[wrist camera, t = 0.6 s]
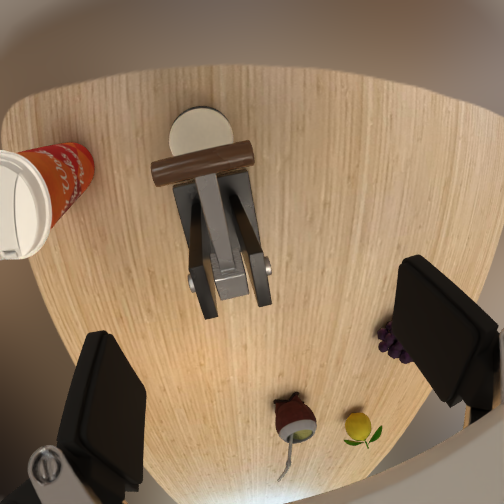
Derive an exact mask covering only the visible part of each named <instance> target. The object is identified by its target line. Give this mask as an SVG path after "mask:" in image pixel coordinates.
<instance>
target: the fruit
mask: <svg viewBox="0 0 504 504" xmlns="http://www.w3.org/2000/svg"><path fill="white" fill-rule="evenodd" d="M391 325H392V321H390V322H388V324H387V325H386V329H385V328H381V329H380V330H379V331H378V332H377V334H378V339H380V340H383V341H382V342H380V343H379V346H378V348H379V350H380V351H381V352H386V351H388V355H389V356H390V357H392V358H393V359H395V358H399V360H400V361H401V363H404V364H407V363H410V362H414V361H413V360H412V358H411V357H410V356H409V354H408V353H407V352H406V350H405V349H404V347H403V346H402V345H401V343H400V342H399V341H398V339H397V338H396V337H395V335H394V334H393V331H392V327H391ZM388 330H389V331H390V332H388ZM388 348H389V349H388Z"/></svg>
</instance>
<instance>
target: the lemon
mask: <svg viewBox="0 0 504 504" xmlns="http://www.w3.org/2000/svg"><path fill="white" fill-rule="evenodd" d="M345 428H346V432H347V433H348V435H349V436H350V437H351V438H352V439H354V440H356V441H365V443H366V445H367V442H366V438H367V437H368V436H369V435H370V433H371V422H370V420H369V418H368V416H367V415H365V414H364V413H351V414H350V416H349V417H348V418H347V420H346V422H345ZM381 432H382V426H380V427H379V428H378V429H377V431H376V432H375V433H374V435H373V436H372V438H371V439H370V441H369V443H370V442H373V441H375V440H377V439H378V438H379V437H380V435H381ZM344 441H345V442H346V443H347V444H349V445H352V446H356V445H359V444H361V443H364V442H356V441H351V440H344ZM369 443H368V444H369ZM367 448H368V449H369V447H368V445H367Z"/></svg>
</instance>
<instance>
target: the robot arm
mask: <svg viewBox="0 0 504 504" xmlns="http://www.w3.org/2000/svg"><path fill="white" fill-rule="evenodd" d="M391 327H392V331H393V334H394V335H395V337H396V338H397V339H398V341H399V342H400V343H401V345H402V346H403V347H404V349H405V350H406V352H407V353H408V354H409V356H410V357H411V358H412V360H413V361H414V363H415V364H416V365H417V367H418V368H419V370H420V371H421V372H422V374H423V375H424V377H425V378H426V380H427V381H428V382H429V384H430V385H431V387H432V388H433V390H434V391H435V393H436V394H437V395H438V397H439V398H440V400H441V401H443V402H446V403H447V404H448V406H449V407H450V408H451V407H452V406H454V405H456V404H457V403H459V402H461V401H462V400H464V402H465V403H466V411H465V419H464V426H463V430H461V431H460V432H458V433H456V434H455V435H453V436H452V437H450V438H448V439H446V440H445V441H443V442H441V443H439V444H438V445H436V446H434V447H432V448H430V449H429V450H427V451H425V452H423V453H421V454H419V455H417V456H415V457H413V458H411V459H409V460H407V461H405V462H403V463H401V464H398V465H396V466H394V467H392V468H390V469H387V470H385V471H383V472H380V473H378V474H376V475H373V476H371V477H368V478H366V479H363V480H360V481H358V482H355V483H352V484H350V485H347V486H344V487H341V488H338V489H335V490H332V491H329V492H326V493H322V494H319V495H316V496H312V497H309V498H305V499H301V500H297V501H293V502H289V503H285V504H504V328H503V329H502V330H501V332H500V333H498V331H497V328H498V325H497V323H496V322H495V321H494V320H493V319H491V317H490V316H489V315H488V314H486V313H485V312H484V311H483V310H482V309H481V308H480V307H479V306H478V305H477V304H476V303H475V302H474V301H473V300H472V299H471V298H470V297H468V296H467V295H466V294H465V293H464V292H463V291H462V290H461V289H460V288H459V287H457V286H456V285H455V284H454V283H453V282H452V281H451V280H450V279H448V278H447V277H446V276H445V275H444V274H443V273H441V272H440V271H439V270H438V269H437V268H436V267H434V266H433V265H432V264H431V263H430V262H428V261H427V260H426V259H425V258H424V257H422V256H421V255H414V256H411V257H408V258H405V259H403V261H402V264H400V266H399V269H398V279H397V288H396V296H395V304H394V311H393V318H392V325H391ZM145 411H146V390H145V387H144V385H143V384H142V382H141V381H140V379H139V378H138V376H137V375H136V373H135V371H134V370H133V368H132V367H131V365H130V363H129V362H128V360H127V358H126V357H125V355H124V353H123V352H122V350H121V348H120V347H119V345H118V343H117V341H116V340H115V338H114V336H113V335H112V334H108V333H107V332H106V331H104V330H102V331H97V332H91V333H88V334H87V336H86V339H85V342H84V344H83V347H82V350H81V353H80V356H79V359H78V363H77V366H76V369H75V372H74V375H73V379H72V382H71V386H70V389H69V393H68V396H67V400H66V403H65V407H64V411H63V415H62V419H61V423H60V427H59V432H58V436H57V441H58V442H57V447H55V446H51V445H48V446H43V447H41V448H39V449H37V450H36V451H35V452H34V453H33V455H32V456H31V458H30V460H29V464H28V473H29V477H30V478H29V479H28V480H26V481H25V482H24V483H23V484H22V485H21V486H19V487H18V488H17V489H15V490H14V491H13V492H12V493H11V494H9V495H8V496H7V497H6V498H4V499H3V500H2V501H1V502H0V504H128V503H127V502H126V501H125V491H128V492H129V491H130V492H138V490H139V488H138V487H139V484H141V483H142V481H143V450H144V427H145Z"/></svg>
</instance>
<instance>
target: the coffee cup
mask: <svg viewBox="0 0 504 504" xmlns="http://www.w3.org/2000/svg"><path fill="white" fill-rule="evenodd" d="M93 176H94V161H93V158H92V156H91V154H90V152H89V151H88V150H87V149H86V148H85V147H84V146H82V145H80V144H78V143H72V142H71V143H61V144H55V145H50V146H45V147H40V148H35V149H31V150H26V151H22V152H18V153H13V152H8V151H5V150H0V260H3V259H5V258H6V259H7V260H8V259H24V258H28V257H30V256H32V255H34V254H35V253H36V252H38V251H39V250H40V248H41V247H42V246H43V245H44V243H45V241H46V240H47V237H48V235H49V232H50V230H51V228H52V227H53V226H54V225H55V224H56V223H57V221H58V220H59V219H60V218H61V217H62V216H63V214H64V213H65V212H66V211H67V210H68V209H69V208H70V207H71V205H72V204H73V203H74V202H75V201H76V200H77V199H78V198H79V197H80V195H81V194H82V193H83V192H84V191H85V190H86V189H87V187H88V186H89V185H90V183H91V181H92V179H93Z"/></svg>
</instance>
